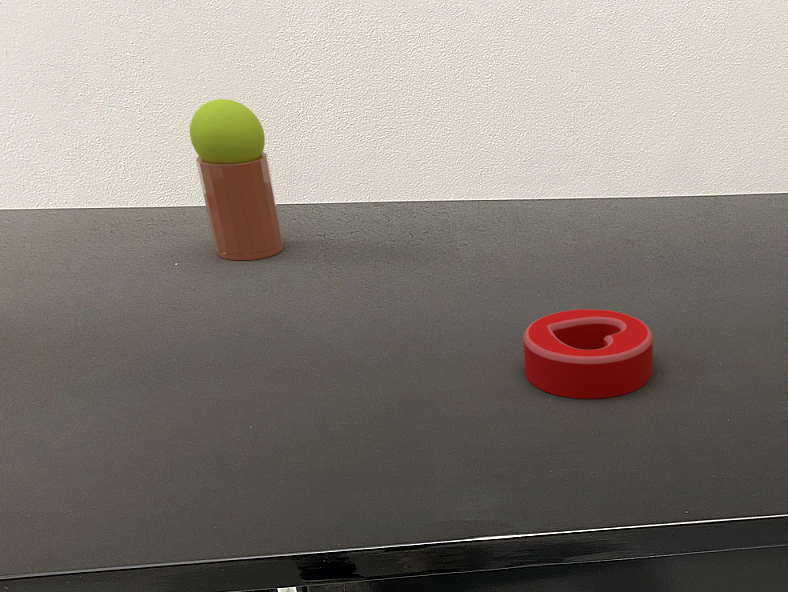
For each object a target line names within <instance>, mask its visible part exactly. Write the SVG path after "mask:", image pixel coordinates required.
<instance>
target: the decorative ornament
mask: <svg viewBox="0 0 788 592" xmlns="http://www.w3.org/2000/svg"><path fill="white" fill-rule="evenodd" d="M522 340H523V341H522V342H523V361H524V375H525V377H526V379H527V380H528V382H529V383H530V384H531V385H532V386H534V387H535V388H537V389H539V390H541V391H542V392H545V393H548V394H550V395H555V396H558V397H559V396H560V397H564V398H570V399H571V398H572V399H580V400H581V399H583V400H586V399H587V400H588V399H589V400H590V399H591V400H593V399H595V400H596V399H606V398H614V397H618V396H623V395H626V394H628V393H632V392H634V391H637V390H638V389H640V388H642V387H643V386H644V385H645V384H646V383H647V382H648V381H649V380H650V379H651V377H652V375H653V352H654V351H653V348H654V346H653V345H654V336H653V332H652V330H650V328H649V326H648V325H647V324H646V323H645V322H643V321H642V320H640V319H638V317H634V316H631V315H629V314H626V313H623V312H618V311H613V310H608V309H591V308H590V309H587V308H586V309H584V308H583V309H571V310H569V309H568V310H564V311H563V310H562V311H558V312H554V313H550V314H547V315H545V316H542V317H540V318H538V319H536V320H534V321H533V322H531V323H530V324H529V325H528V327H527V328H526V330H525V331H524V334H523V337H522Z"/></svg>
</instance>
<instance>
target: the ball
mask: <svg viewBox="0 0 788 592" xmlns="http://www.w3.org/2000/svg"><path fill="white" fill-rule="evenodd" d="M192 116H193V117H192V118H191V121H190V125H189V137H190V140H191V144H192V147H193V149H194V150H195V152H196V154H197V156H200V157H201V158H202V159H203V161H205V162H208V163H216V164H233V163H242V162H248V161H252V160H256V159H258V158H260V157H261V155H262V153H263V152H264V150H265V143H266V142H265V141H266V138H265V132H264V128H263V126H262V123H261V122H260V120H259V118H258V117H257V115H256V114H255V113H254V112H253V110H252V109H250V108H249V107H247V106H246V105H244V104H242V103H241V102H238V101H236V100H233V99H226V98H217V99H213V100H210V101H207V102H206V103H204V104H202V105H201V106H200V107H198V109H197V110H196V111H195V112H194V114H193V115H192Z"/></svg>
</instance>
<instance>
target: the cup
mask: <svg viewBox="0 0 788 592" xmlns="http://www.w3.org/2000/svg"><path fill="white" fill-rule="evenodd" d="M195 161H196V162H195V163H196V167H197V171H198V176H199V181H200V184H201V189H202V194H203V198H204V204H205V207H206V208H205V209H206V212H207V216H208V223H209V226H210V231H211V236H212V240H213V245H214V248H215V251H216V255H217V256H218V257H219V258H221V259H225V260H230V261H254V260H262V259H265V258H269V257H273V256H276V255H278V254H279V253H281V252H282V251H283V250H284V242H283V234H282V229H281V224H280V217H279V212H278V207H277V200H276V196H275V190H274V185H273V179H272V173H271V168H270V163H269V157H268V153H266V152H264V151H263V153H262V155H261V157H260V158H258V159H256V160H252V161H248V162H242V163H233V164H216V163H208V162H205V161H203V159H202V158H201V157H200V156H199V155H197V157H196V159H195Z"/></svg>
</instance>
